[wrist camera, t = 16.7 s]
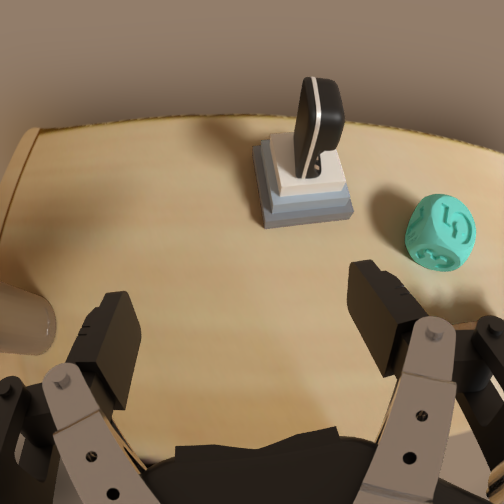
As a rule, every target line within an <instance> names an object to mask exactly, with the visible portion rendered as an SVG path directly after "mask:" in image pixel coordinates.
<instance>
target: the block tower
mask: <svg viewBox="0 0 504 504" xmlns="http://www.w3.org/2000/svg"><path fill="white" fill-rule="evenodd" d="M293 136H294V132H289V133H276V134H270V140H261V145H259V146H253V161H254V167H255V173H256V179H257V185H258V191H259V197H260V203H261V209H262V215H263V222H264V228H265V229H270V228H278V227H286V226H294V225H303V224H311V223H320V222H329V221H338V220H347V219H349V218H350V217H351V215H352V214H353V212H354V210H353V207H352V203H351V199H350V194H349V191H348V187H347V184H346V179H345V176H344V172H343V169H342V166H341V163H340V159H339V156H338V153H337V150H336V149H335V150H333V151H324V152H323V153H321V154H320V158H321V168H322V170H321V174H320V176H319V177H317V178H312V179H301V178H297V177H296V173H295V156H294V139H293Z"/></svg>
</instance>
